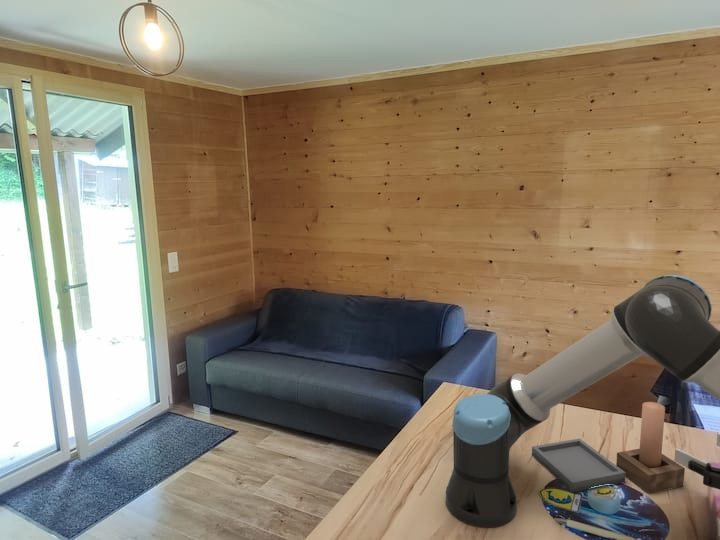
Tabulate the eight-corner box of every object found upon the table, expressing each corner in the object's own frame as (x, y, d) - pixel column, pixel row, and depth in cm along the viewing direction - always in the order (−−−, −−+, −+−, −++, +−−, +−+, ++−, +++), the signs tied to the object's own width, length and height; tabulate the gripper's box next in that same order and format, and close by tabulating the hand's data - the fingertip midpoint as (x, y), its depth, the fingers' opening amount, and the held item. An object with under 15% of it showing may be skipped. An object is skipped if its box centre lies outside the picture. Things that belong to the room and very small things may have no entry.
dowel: (648, 484, 110) (653, 411, 107) (633, 474, 115) (638, 403, 112) (664, 481, 111) (669, 408, 108) (649, 471, 116) (653, 400, 113)
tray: (572, 492, 109) (572, 482, 108) (531, 455, 124) (532, 446, 124) (625, 482, 112) (625, 472, 111) (579, 447, 127) (579, 438, 127)
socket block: (647, 493, 107) (649, 475, 107) (616, 469, 117) (617, 452, 116) (683, 486, 110) (684, 468, 109) (649, 463, 119) (650, 446, 118)
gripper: (779, 547, 78) (656, 478, 98) (860, 503, 88) (732, 448, 107) (784, 505, 77) (658, 444, 97) (865, 465, 87) (735, 417, 106)
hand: (697, 446), depth 102 cm, fingers open, 13 cm apart
